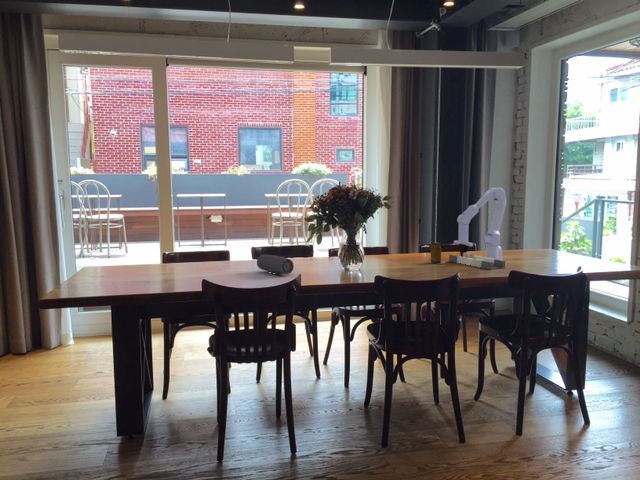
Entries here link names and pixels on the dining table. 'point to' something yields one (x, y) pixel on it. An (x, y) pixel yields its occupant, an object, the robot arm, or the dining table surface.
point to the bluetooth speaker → (275, 264)
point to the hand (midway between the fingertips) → (463, 257)
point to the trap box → (478, 261)
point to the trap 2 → (496, 267)
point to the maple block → (469, 255)
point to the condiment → (436, 253)
